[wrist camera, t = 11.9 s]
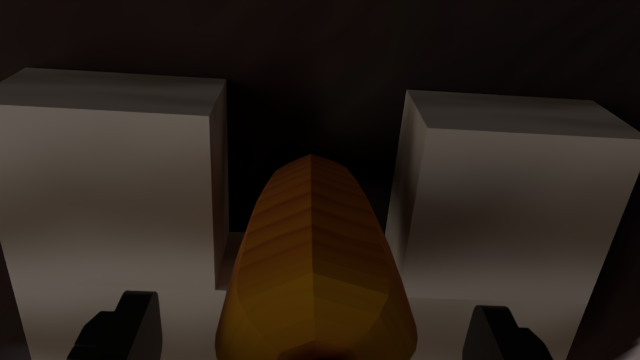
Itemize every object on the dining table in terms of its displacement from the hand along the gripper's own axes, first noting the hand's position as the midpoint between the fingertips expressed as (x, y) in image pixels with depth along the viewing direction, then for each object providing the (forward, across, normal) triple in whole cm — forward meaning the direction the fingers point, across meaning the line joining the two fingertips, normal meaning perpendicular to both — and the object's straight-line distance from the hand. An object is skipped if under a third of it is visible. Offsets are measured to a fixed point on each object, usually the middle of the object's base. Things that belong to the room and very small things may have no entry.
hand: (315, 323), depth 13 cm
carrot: (+10, 0, 0) cm, 10 cm away
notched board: (+10, 0, +3) cm, 10 cm away
